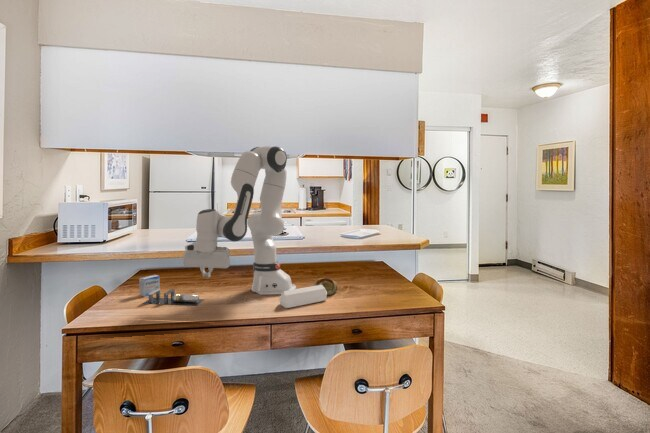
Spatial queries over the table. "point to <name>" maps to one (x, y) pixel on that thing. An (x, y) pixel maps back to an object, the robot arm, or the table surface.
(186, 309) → the table surface
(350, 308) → the table surface
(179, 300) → the tube
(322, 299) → the white chamfered bar
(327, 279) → the pastry
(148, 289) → the medicine box
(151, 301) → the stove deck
